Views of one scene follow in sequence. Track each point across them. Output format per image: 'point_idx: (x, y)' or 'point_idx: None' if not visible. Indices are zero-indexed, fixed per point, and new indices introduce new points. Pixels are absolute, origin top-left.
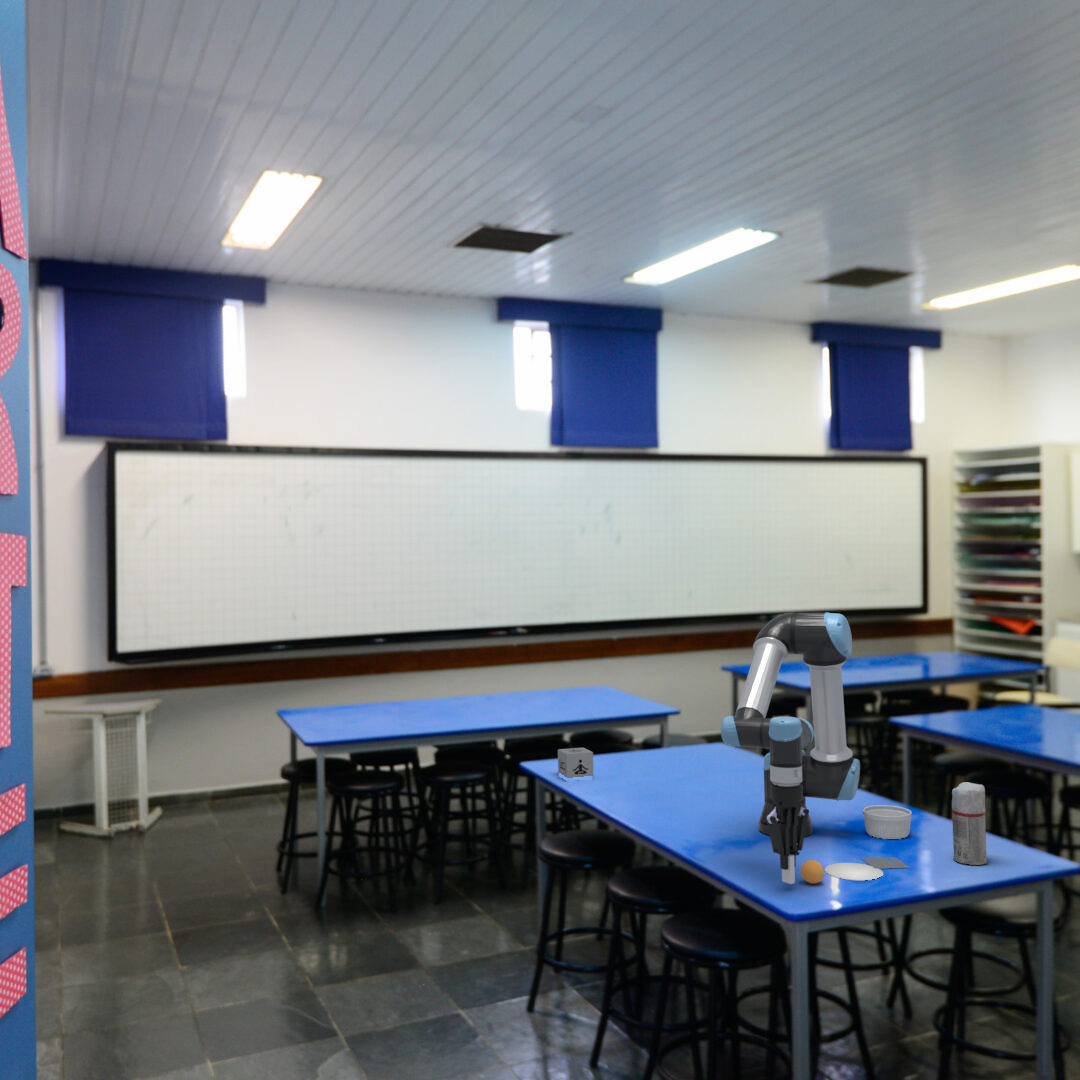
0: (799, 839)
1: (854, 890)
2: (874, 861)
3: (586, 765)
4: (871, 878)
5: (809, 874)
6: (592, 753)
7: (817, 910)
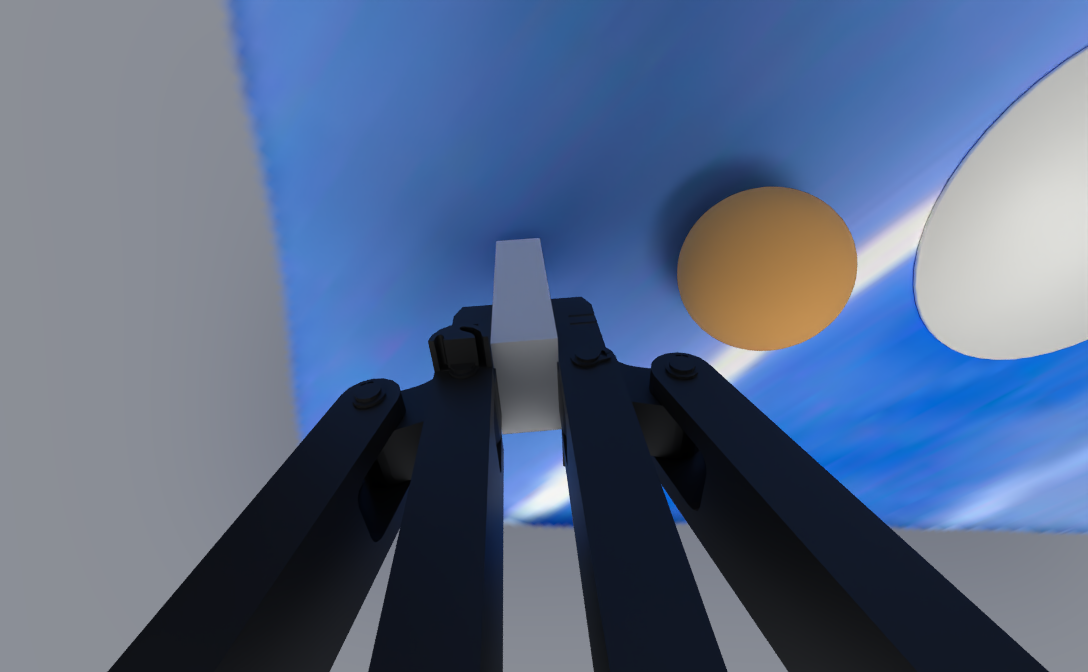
0: (698, 528)
1: (774, 414)
2: None
3: None
4: (996, 350)
5: (688, 309)
6: None
7: None
